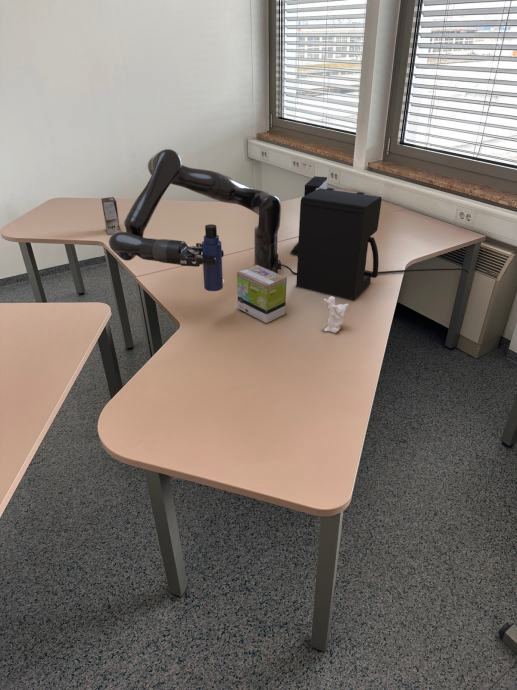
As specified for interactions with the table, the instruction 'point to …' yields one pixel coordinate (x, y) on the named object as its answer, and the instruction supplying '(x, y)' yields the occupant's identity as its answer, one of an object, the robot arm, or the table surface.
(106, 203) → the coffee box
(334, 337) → the table surface
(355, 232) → the coffee maker
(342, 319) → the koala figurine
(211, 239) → the water bottle
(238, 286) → the tea box
